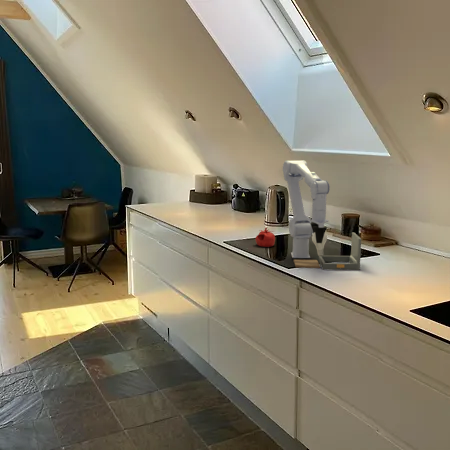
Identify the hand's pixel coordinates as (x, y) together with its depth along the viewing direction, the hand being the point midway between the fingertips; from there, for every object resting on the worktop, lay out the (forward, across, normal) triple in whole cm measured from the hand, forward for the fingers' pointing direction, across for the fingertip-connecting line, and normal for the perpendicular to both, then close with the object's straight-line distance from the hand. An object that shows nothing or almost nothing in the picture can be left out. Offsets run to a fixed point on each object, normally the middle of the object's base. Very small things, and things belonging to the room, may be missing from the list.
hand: (317, 241), depth 230 cm
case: (+10, -1, -9) cm, 13 cm away
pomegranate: (+11, +37, +20) cm, 44 cm away
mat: (+10, 0, +4) cm, 11 cm away
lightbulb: (+7, 0, -1) cm, 7 cm away
